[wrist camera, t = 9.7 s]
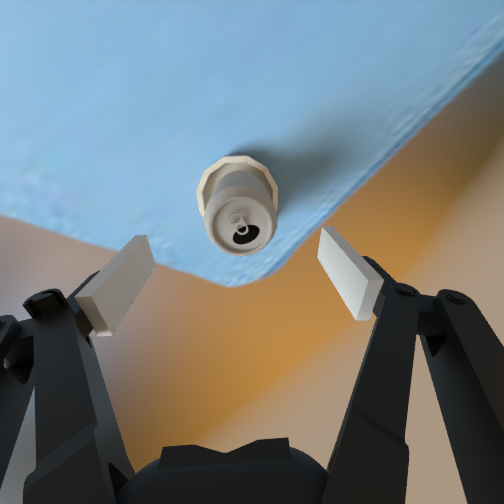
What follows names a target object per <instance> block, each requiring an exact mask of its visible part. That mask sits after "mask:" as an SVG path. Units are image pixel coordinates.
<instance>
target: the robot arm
mask: <svg viewBox="0 0 504 504" xmlns="http://www.w3.org/2000/svg"><path fill="white" fill-rule="evenodd" d="M318 259H319V261H320V262H321V264H322V266H323V267H324V269H325V271H326V272H327V274H328V276H329V277H330V279H331V280H332V282H333V284H334V285H335V287H336V289H337V290H338V292H339V294H340V295H341V297H342V299H343V300H344V302H345V303H346V305H347V307H348V308H349V310H350V311H351V313H352V315H353V317H354V318H355V319H356V321H361V320H370V318H371V315H372V312H373V313H374V314H375V315H376V317H377V319H376V322H375V324H374V327H373V330H372V334H371V337H370V340H369V343H368V346H367V349H366V352H365V355H364V358H363V361H362V365H361V367H360V371H359V374H358V377H357V380H356V383H355V386H354V389H353V392H352V395H351V398H350V401H349V404H348V408H347V410H346V413H345V416H344V419H343V423H342V426H341V428H340V431H339V435H338V438H337V441H336V443H335V446H334V449H333V452H332V455H331V458H330V460H329V463H328V467H327V469H326V470H325V469H324V468H323V467H322V466H321V465H320V464H319V463H318V462H317V461H315V460H314V459H313V458H312V457H310V456H309V455H307V454H305V453H304V452H302V451H300V450H298V449H295V448H292V447H290V446H289V440H288V438H275V439H262V440H256V441H254V442H252V443H249V444H247V445H245V446H242V447H240V448H238V449H235V450H233V451H230V452H228V453H222V452H218V451H215V450H211V449H208V448H204V447H200V446H197V445H182V446H168V447H163V449H162V453H161V457H160V458H159V459H156V460H155V461H153V462H151V463H149V464H148V465H147V466H145V467H144V468H142V469H141V470H140V471H139V472H137V473H136V474H135V471H134V470H133V467H132V466H131V464H130V461H129V459H128V456H127V453H126V450H125V447H124V444H123V440H122V437H121V434H120V431H119V428H118V424H117V421H116V418H115V414H114V411H113V408H112V405H111V402H110V399H109V395H108V392H107V389H106V385H105V382H104V379H103V376H102V372H101V369H100V366H99V363H98V359H97V356H96V353H95V350H94V347H93V343H92V340H91V338H90V337H89V334H90V332H91V331H92V330H93V329H94V331H95V332H96V334H97V336H112V335H113V334H114V332H115V331H116V329H117V328H118V326H119V324H120V322H121V321H122V319H123V318H124V316H125V315H126V313H127V311H128V310H129V308H130V307H131V305H132V303H133V302H134V300H135V299H136V297H137V295H138V294H139V292H140V291H141V289H142V287H143V286H144V284H145V282H146V281H147V279H148V278H149V276H150V275H151V273H152V271H153V270H154V268H155V267H156V265H155V261H154V258H153V255H152V252H151V249H150V245H149V242H148V239H147V236H146V235H136V236H135V237H134V238H133V239H132V240H131V241H130V242H129V243H128V244H127V245H126V246H125V247H124V248H123V249H122V250H121V251H120V252H119V253H118V254H117V255H116V256H115V257H114V258H113V259H112V260H111V261H110V262H109V263H108V264H107V265H106V266H105V267H104V268H103V269H102V270H100V271H97V272H96V273H94V274H92V275H91V276H89V277H88V278H87V279H86V280H85V281H84V283H82V284H81V285H80V286H79V287H78V288H77V289H76V290H75V291H74V292H73V293H72V294H71V295H70V296H69V297H68V298H67V299H65V297H64V295H63V294H62V292H61V291H60V290H59V289H48V290H44V291H41V292H39V293H37V294H34V295H33V296H31V297H30V298H28V299H27V300H26V301H25V302H24V304H23V307H24V308H25V309H26V310H27V312H28V313H29V314H30V316H31V317H32V318H31V319H27V320H23V321H19V322H18V321H17V320H16V318H15V317H14V316H12V315H4V316H0V488H1V485H2V482H3V479H4V476H5V473H6V470H7V467H8V464H9V461H10V458H11V455H12V452H13V449H14V446H15V443H16V440H17V437H18V434H19V431H20V428H21V425H22V422H23V419H24V416H25V413H26V410H27V407H28V404H29V401H30V398H31V395H32V391H33V388H34V386H35V424H36V425H35V428H36V469H35V471H34V472H32V473H31V474H30V475H28V476H27V478H26V480H25V482H24V489H23V504H405V497H406V487H407V476H408V465H409V448H408V445H407V444H406V443H405V429H406V421H407V412H408V403H409V394H410V385H411V377H412V368H413V359H414V351H415V342H416V334H418V335H419V336H420V340H421V343H422V346H423V350H424V353H425V357H426V360H427V364H428V367H429V371H430V374H431V378H432V381H433V385H434V388H435V392H436V395H437V399H438V402H439V405H440V409H441V413H442V416H443V420H444V423H445V426H446V430H447V434H448V437H449V441H450V444H451V447H452V451H453V454H454V458H455V461H456V465H457V468H458V471H459V475H460V479H461V482H462V485H463V489H464V493H465V496H466V500H467V503H468V504H504V346H503V345H502V343H501V342H500V341H499V339H498V338H497V336H496V334H495V333H494V331H493V330H492V328H491V327H490V325H489V324H488V322H487V321H486V319H485V317H484V316H483V314H482V313H481V311H480V310H479V308H478V307H477V305H476V304H475V303H474V301H473V300H472V299H471V298H469V297H468V296H466V295H465V294H463V293H460V292H458V291H454V290H447V289H443V290H440V291H439V292H438V294H437V295H436V297H435V296H428V295H422V294H420V293H419V292H418V291H417V290H416V289H415V288H413V287H412V286H409V285H407V284H403V283H397V282H396V281H395V280H394V279H393V278H392V277H391V276H390V275H389V274H388V273H387V272H386V271H385V270H383V268H382V267H381V266H379V264H377V263H376V262H375V261H374V260H372V259H371V258H369V257H367V256H361V255H360V254H359V253H358V252H357V251H356V250H355V249H354V248H353V247H352V246H351V245H350V244H349V243H348V242H347V241H346V240H345V239H344V238H343V237H342V236H341V235H340V234H339V233H338V232H337V231H336V229H334V227H333V226H322V230H321V237H320V244H319V250H318Z"/></svg>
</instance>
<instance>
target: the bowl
mask: <svg viewBox="0 0 504 504" xmlns="http://www.w3.org/2000/svg"><path fill="white" fill-rule="evenodd" d="M233 171H247V172H250V173H252V174H254V175H255V176H257V177H258V178H259V179H260V180H261V182H262V183H263V184H264V186H265V188H266V190H267V192H268V194H269V196H270V198H271V200H272V202H273V204H274V206H275V209H276V210H277V209H278V186H277V185H276V183H275V181H274V179H273V177H272V175H271V174H270V172H269V170H268V168H267V167H266V166H265V165H263V164H261V163H260V162H258V161H257V160H255V159H253V158H251V157H249V156H248V155H231V156H223V157H222V158H221V159H219V160H218V161H216V162H215V163H213V164H212V165H211V166H209V167H208V168H206V169H205V170H204V173H203V175H202V178H201V180H200V183H199V185H198V188H197V190H196V193H197V200H198V206H199V212H200V214H201V215H202V216H203V217H204V214H205V209H206V206H207V204H208V202H209V200H210V197H211V195H212V193H213V191H214V189H215V187H216V185H217V183H218V182H219V180H220V179H221V178H222V177H223V176H225V175H226V174H228V173H230V172H233Z"/></svg>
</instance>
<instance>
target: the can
mask: <svg viewBox="0 0 504 504" xmlns="http://www.w3.org/2000/svg"><path fill="white" fill-rule="evenodd" d="M204 226H205V231H206V233H207V235H208V237H209V239H210V240H211V241H212V242H213V243H214V244H215V245H216V246H217V247H218V248H219V249H220V250H222V251H224V252H225V253H227V254H230V255H234V256H249V255H252V254H255V253H257V252H258V251H260V250H261V249H263V248H264V247H265V246H266V245H267V244H268V243H269V241H270V240H271V239H272V238H273V236H274V233H275V231H276V228H277V213H276V209H275V206H274V204H273V202H272V200H271V198H270V196H269V194H268V192H267V190H266V188H265V186H264V184H263V183H262V182H261V180H260V179H259V178H258V177H257V176H255V175H254V174H252V173H250V172H247V171H233V172H230V173H228V174H226V175H225V176H223V177H222V178H221V179H220V180H219V182H218V183H217V185H216V187H215V189H214V191H213V193H212V195H211V197H210V200H209V202H208V204H207V206H206V209H205V214H204Z"/></svg>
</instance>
